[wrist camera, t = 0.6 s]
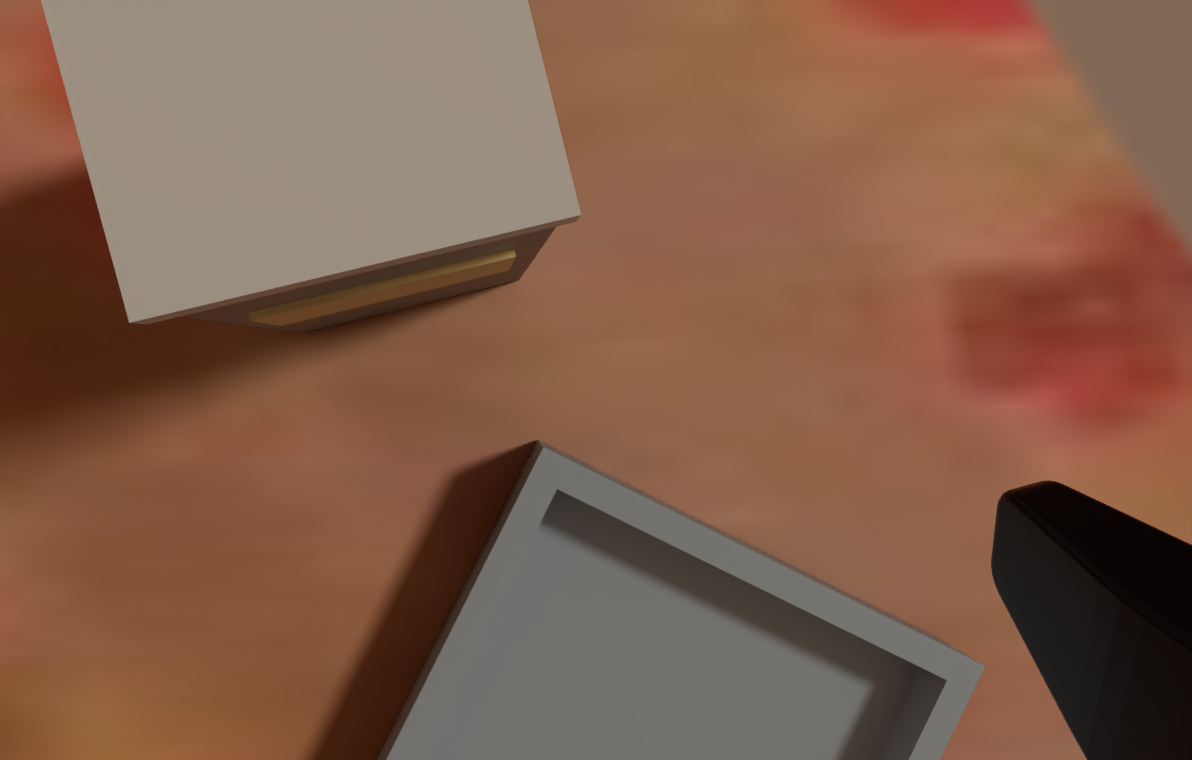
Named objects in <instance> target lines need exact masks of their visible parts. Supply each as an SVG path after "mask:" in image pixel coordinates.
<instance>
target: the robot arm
mask: <svg viewBox="0 0 1192 760" xmlns="http://www.w3.org/2000/svg"><path fill="white" fill-rule="evenodd" d="M991 568H992V575H993V579H994V583H995V585H996V588H997V590H998V593H999V595H1000V597H1001V599H1002V600H1003V602H1004V604H1005V606H1006V608H1007V610H1008V612H1009V614H1010V616H1011V618H1012V620H1013V621H1014V623H1015V625H1016V627H1017V629H1018V631H1019V633H1020V635H1021V637H1022V639H1023V640H1024V642H1025V644H1026V646H1027V648H1028V650H1029V652H1030V654H1031V656H1032V658H1033V660H1034V661H1035V663H1036V665H1037V667H1038V669H1039V671H1040V673H1041V675H1042V677H1043V679H1044V680H1045V682H1046V684H1047V686H1048V688H1049V690H1050V692H1051V694H1052V696H1053V698H1054V700H1055V701H1056V703H1057V705H1058V707H1059V709H1060V711H1061V713H1062V715H1063V717H1064V719H1065V720H1066V722H1067V724H1068V726H1069V728H1070V730H1071V732H1072V734H1073V735H1074V737H1075V739H1076V741H1077V743H1078V744H1079V746H1080V748H1081V750H1082V751H1083V753H1084V755H1085V757H1086V758H1087V760H1192V545H1191V544H1189V543H1187V542H1184V541H1182V540H1180V539H1178V538H1176V537H1174V536H1172V535H1170V534H1167V533H1165V532H1163V531H1161V530H1159V529H1157V528H1155V527H1153V526H1151V525H1148V524H1146V523H1144V522H1142V521H1140V520H1138V519H1136V518H1134V517H1131V516H1129V515H1127V514H1125V513H1123V512H1121V511H1119V510H1117V509H1114V508H1112V507H1110V506H1108V505H1106V504H1104V503H1102V502H1100V501H1097V500H1095V499H1093V498H1091V497H1089V496H1087V495H1085V494H1083V493H1080V492H1078V491H1076V490H1074V489H1072V488H1070V487H1068V486H1066V485H1063V484H1061V483H1058V482H1054V481H1041V482H1037V483H1033V484H1030V485H1026V486H1022V487H1019V488H1015V489H1011V490H1008V491H1007V492H1005V493H1003V495H1002V496H1001V498H1000V499H999V501H998V506H997V513H996V522H995V531H994V540H993V550H992V559H991Z"/></svg>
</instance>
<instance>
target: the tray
mask: <svg viewBox="0 0 1192 760" xmlns="http://www.w3.org/2000/svg"><path fill="white" fill-rule="evenodd" d="M984 668H985V665H983V664H981V663H980V662H978V661H976V660H975V659H973V658H971V657H970V656H968V655H966V654H965V653H963V652H961V651H960V650H958V649H956V648H955V647H953V646H951V645H950V644H948V643H946V642H944V641H942V640H940V639H938V638H936V637H934V636H932V635H930V634H928V633H926V632H924V631H922V630H920V629H918V628H916V627H914V626H912V625H910V624H908V623H906V622H904V621H902V620H900V619H898V618H896V617H894V616H892V615H890V614H888V613H886V612H884V611H882V610H880V609H878V608H876V607H874V606H872V605H870V604H868V603H866V602H864V601H862V600H859V599H857V598H855V597H853V596H851V595H849V594H847V593H845V592H843V591H841V590H839V589H837V588H835V587H833V586H831V585H829V584H827V583H825V582H823V581H821V580H819V579H817V578H815V577H813V576H811V575H809V574H807V573H805V572H803V571H801V570H799V569H797V568H795V567H793V566H791V565H789V564H787V563H785V562H783V561H781V560H779V559H777V558H775V557H773V556H771V555H769V554H767V553H765V552H763V551H761V550H759V549H757V548H755V547H753V546H750V545H748V544H746V543H744V542H742V541H740V540H738V539H736V538H734V537H732V536H730V535H728V534H726V533H724V532H722V531H720V530H718V529H716V528H714V527H712V526H710V525H708V524H706V523H704V522H702V521H700V520H698V519H696V518H694V517H692V516H690V515H688V514H686V513H684V512H682V511H680V510H678V509H676V508H674V507H672V506H670V505H668V504H666V503H664V502H662V501H660V500H658V499H656V498H654V497H652V496H650V495H648V494H646V493H643V492H641V491H639V490H637V489H635V488H633V487H631V486H629V485H627V484H625V483H623V482H621V481H619V480H617V479H615V478H613V477H611V476H609V475H607V474H605V473H603V472H601V471H599V470H597V469H595V468H593V467H591V466H589V465H587V464H585V463H583V462H581V461H579V460H577V459H575V458H573V457H571V456H569V455H567V454H565V453H563V452H561V451H559V450H557V449H555V448H553V447H551V446H549V445H547V444H545V443H543V442H541V441H539V440H537V441H536V443H535V445H534V447H533V449H532V451H531V453H530V455H529V457H528V459H527V461H526V463H525V465H524V467H523V469H522V471H521V473H520V475H519V477H518V479H517V481H516V483H515V485H514V487H513V489H512V491H511V493H510V495H509V497H508V499H507V501H506V503H505V505H504V507H503V509H502V511H501V513H500V515H499V517H498V519H497V521H496V523H495V525H494V527H493V529H492V531H491V533H490V535H489V537H488V539H487V541H486V543H485V545H484V547H483V549H482V551H481V553H480V555H479V557H478V559H477V561H476V563H475V565H474V567H473V569H472V571H471V573H470V575H469V577H468V579H467V581H466V583H465V584H464V586H463V588H462V590H461V592H460V594H459V596H458V598H457V600H456V602H455V604H454V606H453V608H452V610H451V612H450V614H449V616H448V618H447V620H446V622H445V624H444V626H443V628H442V630H441V632H440V634H439V636H438V638H437V640H436V642H435V644H434V646H433V648H432V650H431V652H430V654H429V656H428V658H427V660H426V662H425V664H424V666H423V668H422V670H421V672H420V674H419V676H418V678H417V680H416V682H415V684H414V686H413V688H412V690H411V692H410V694H409V696H408V698H407V700H406V702H405V704H404V706H403V708H402V710H401V712H400V714H399V716H398V718H397V720H396V722H395V724H394V726H393V728H392V730H391V732H390V734H389V736H388V738H387V740H386V742H385V744H384V746H383V748H382V750H381V752H380V754H379V756H378V758H377V760H940V759H941V757H942V755H943V753H944V751H945V748H946V746H947V744H948V742H949V740H950V738H951V736H952V734H953V732H954V730H955V728H956V726H957V724H958V722H959V719H960V717H961V715H962V713H963V711H964V709H965V707H966V705H967V703H968V701H969V699H970V697H971V695H972V693H973V690H974V688H975V686H976V684H977V682H978V680H979V678H980V676H981V674H982V672H983V670H984Z"/></svg>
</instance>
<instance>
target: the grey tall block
mask: <svg viewBox="0 0 1192 760" xmlns="http://www.w3.org/2000/svg"><path fill="white" fill-rule="evenodd" d="M41 2H42V6H43V9H44V13H45V17H46V20H47V24H48V28H49V31H50V35H51V39H52V42H53V46H54V49H55V53H56V57H57V60H58V64H59V68H60V71H61V75H62V79H63V82H64V86H65V90H66V93H67V97H68V101H69V104H70V108H71V112H72V115H73V119H74V123H75V126H76V130H77V134H78V137H79V141H80V145H81V148H82V152H83V156H84V159H85V163H86V166H87V170H88V174H89V177H90V181H91V185H92V188H93V192H94V196H95V199H96V203H97V207H98V210H99V214H100V218H101V221H102V225H103V229H104V232H105V236H106V240H107V243H108V247H109V251H110V254H111V258H112V262H113V265H114V269H115V273H116V276H117V280H118V283H119V287H120V291H121V294H122V298H123V302H124V305H125V309H126V313H127V316H128V320H129V323H136V324H146V325H147V324H151V323H155V322H160V321H164V320H168V319H172V318H176V317H187V318H194V319H201V320H209V321H216V322H224V323H231V324H238V325H246V326H253V327H261V328H268V329H275V330H283V331H290V332H298V333H305V332H309V331H313V330H318V329H322V328H326V327H330V326H334V325H338V324H342V323H346V322H350V321H354V320H358V319H363V318H367V317H371V316H375V315H379V314H383V313H387V312H391V311H395V310H399V309H403V308H408V307H412V306H416V305H420V304H424V303H428V302H432V301H436V300H440V299H444V298H448V297H453V296H457V295H461V294H465V293H469V292H473V291H477V290H481V289H485V288H489V287H493V286H498V285H502V284H506V283H510V282H514V281H518V280H519V279H520V278H521V276H522V275H523V273H524V272H525V271H526V269H527V268H528V266H529V265H530V263H531V262H532V261H533V259H534V258H535V256H536V255H537V254H538V252H539V251H540V249H541V248H542V246H543V245H544V244H545V242H546V241H547V239H548V238H549V236H550V235H551V234H552V232H553V231H554V229H555V228H556V226H560V225H564V224H568V223H573V222H576V220H577V219H578V218H579V217H580V216H581V212H580V208H579V204H578V200H577V196H576V192H575V188H574V184H573V180H572V176H571V172H570V168H569V164H568V160H567V156H566V152H565V148H564V144H563V140H562V136H561V132H560V128H559V124H558V120H557V116H556V112H555V108H554V104H553V100H552V96H551V92H550V88H549V84H548V80H547V76H546V72H545V68H544V64H543V60H542V56H541V52H540V48H539V44H538V40H537V36H536V32H535V28H534V24H533V20H532V16H531V12H530V8H529V4H528V0H41Z"/></svg>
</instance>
